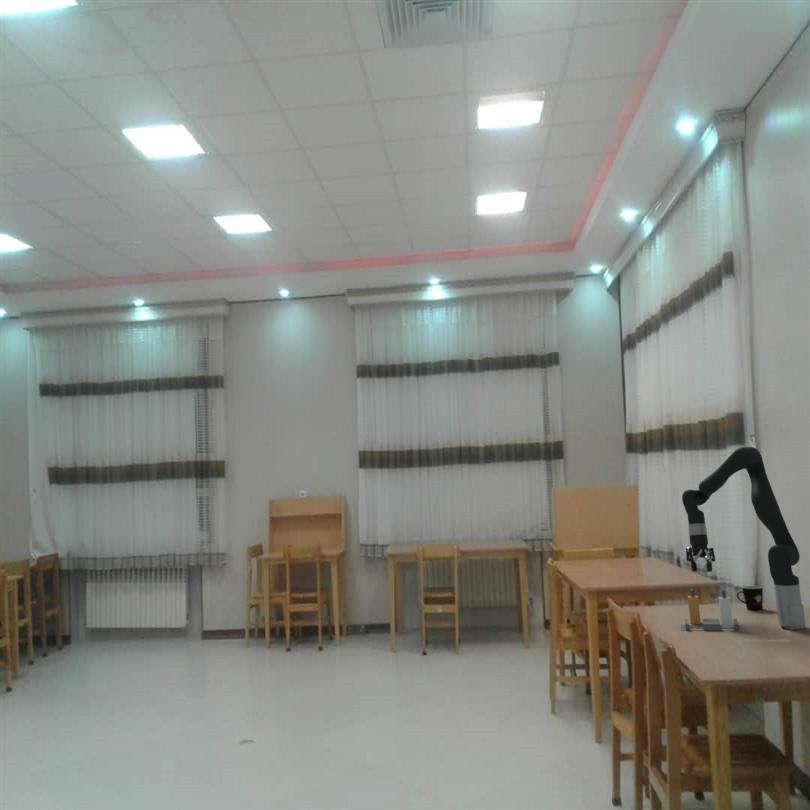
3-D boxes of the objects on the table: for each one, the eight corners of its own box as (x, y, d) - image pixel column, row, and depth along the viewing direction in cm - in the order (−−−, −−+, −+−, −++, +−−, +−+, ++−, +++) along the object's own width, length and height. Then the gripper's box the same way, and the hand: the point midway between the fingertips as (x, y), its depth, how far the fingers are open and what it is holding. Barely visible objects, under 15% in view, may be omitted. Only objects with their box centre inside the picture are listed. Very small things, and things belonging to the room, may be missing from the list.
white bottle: (732, 626, 309) (728, 589, 311) (733, 628, 306) (728, 591, 307) (721, 626, 311) (717, 589, 312) (722, 628, 307) (718, 591, 308)
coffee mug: (762, 607, 348) (760, 585, 349) (766, 611, 340) (764, 588, 341) (735, 608, 351) (733, 586, 352) (739, 611, 343) (736, 589, 344)
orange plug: (700, 624, 323) (696, 588, 324) (701, 626, 319) (697, 590, 320) (690, 624, 324) (687, 588, 325) (691, 626, 320) (687, 590, 322)
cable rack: (742, 627, 312) (741, 618, 312) (745, 633, 301) (744, 624, 301) (680, 627, 320) (680, 618, 320) (681, 633, 308) (680, 624, 309)
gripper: (692, 533, 331) (696, 571, 327) (716, 534, 336) (721, 571, 332) (679, 534, 338) (683, 572, 333) (703, 535, 343) (708, 572, 339)
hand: (702, 571), depth 333 cm, fingers open, 8 cm apart
